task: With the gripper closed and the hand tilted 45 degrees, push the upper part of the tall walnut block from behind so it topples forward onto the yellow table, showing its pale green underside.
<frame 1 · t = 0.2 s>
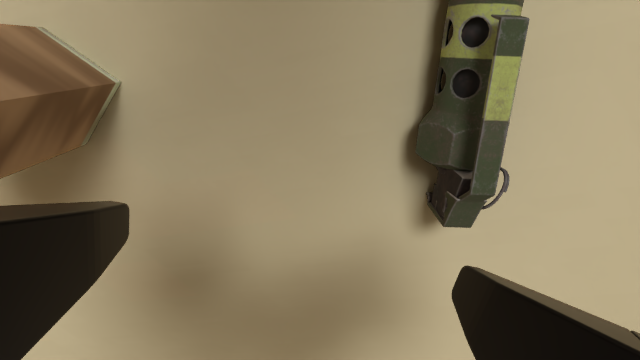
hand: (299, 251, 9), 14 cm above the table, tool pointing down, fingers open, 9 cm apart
walnut block: (65, 89, 22), on the table
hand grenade: (456, 66, 22), on the table
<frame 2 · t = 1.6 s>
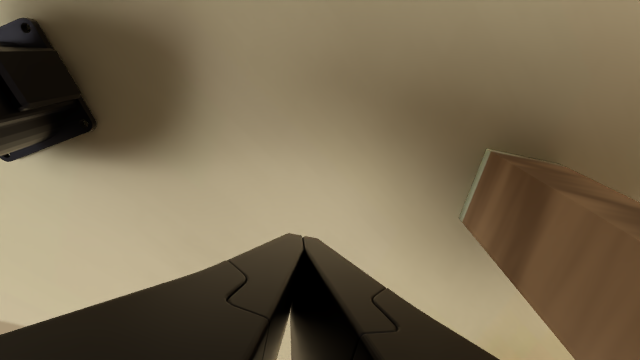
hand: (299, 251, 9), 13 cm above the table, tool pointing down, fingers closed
walnut block: (507, 191, 23), on the table
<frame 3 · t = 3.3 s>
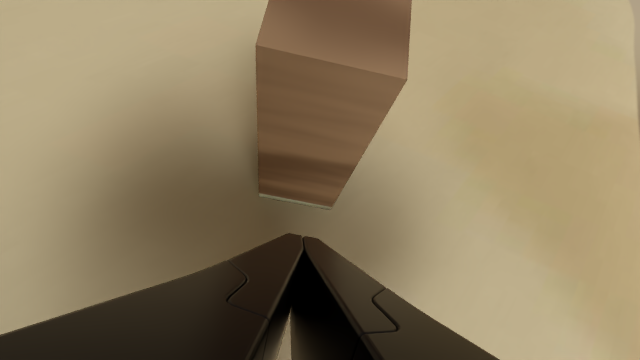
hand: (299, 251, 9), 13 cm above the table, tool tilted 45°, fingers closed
walnut block: (300, 170, 25), on the table
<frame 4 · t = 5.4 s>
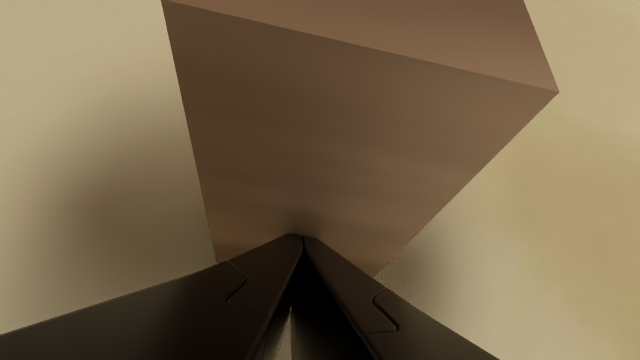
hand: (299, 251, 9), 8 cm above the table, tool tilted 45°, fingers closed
walnut block: (288, 256, 17), on the table, tilted 9°
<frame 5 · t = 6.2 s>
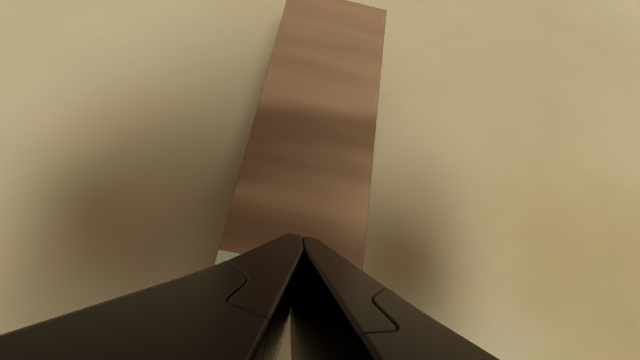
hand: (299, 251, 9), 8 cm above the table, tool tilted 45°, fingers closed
walnut block: (283, 289, 14), point 2 cm above the table, tilted 90°
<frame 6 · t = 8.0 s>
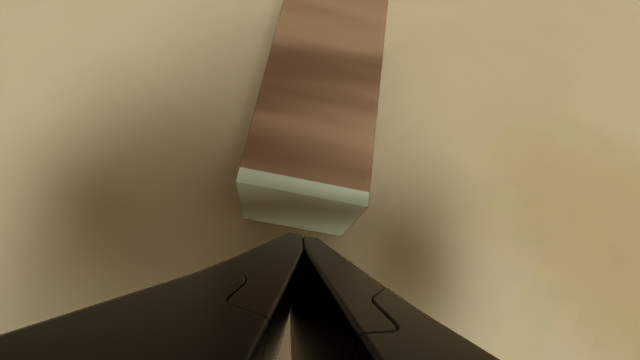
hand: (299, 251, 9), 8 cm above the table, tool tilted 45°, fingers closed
walnut block: (296, 213, 15), point 2 cm above the table, tilted 90°
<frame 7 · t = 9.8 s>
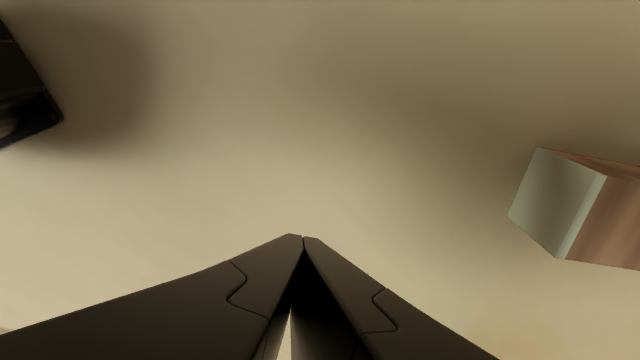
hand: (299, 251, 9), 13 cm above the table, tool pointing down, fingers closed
walnut block: (544, 198, 21), point 2 cm above the table, tilted 90°
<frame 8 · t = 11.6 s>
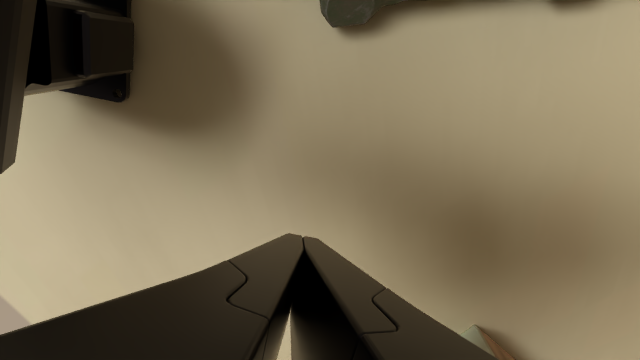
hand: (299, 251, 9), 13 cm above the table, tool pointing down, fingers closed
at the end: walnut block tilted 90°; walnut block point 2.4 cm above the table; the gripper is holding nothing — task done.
